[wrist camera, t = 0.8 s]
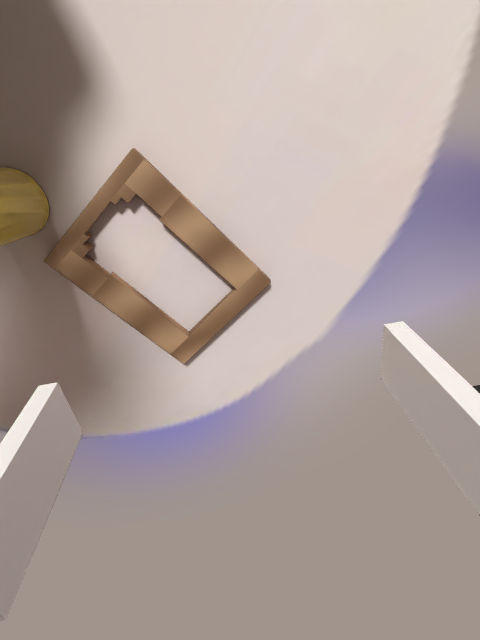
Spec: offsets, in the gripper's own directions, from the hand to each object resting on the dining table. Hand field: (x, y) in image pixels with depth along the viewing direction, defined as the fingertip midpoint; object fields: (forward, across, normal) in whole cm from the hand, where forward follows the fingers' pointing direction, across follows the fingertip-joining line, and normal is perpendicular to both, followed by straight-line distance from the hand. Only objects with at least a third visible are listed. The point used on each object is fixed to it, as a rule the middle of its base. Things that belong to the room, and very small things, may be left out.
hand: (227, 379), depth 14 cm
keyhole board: (+24, -6, -3) cm, 25 cm away
